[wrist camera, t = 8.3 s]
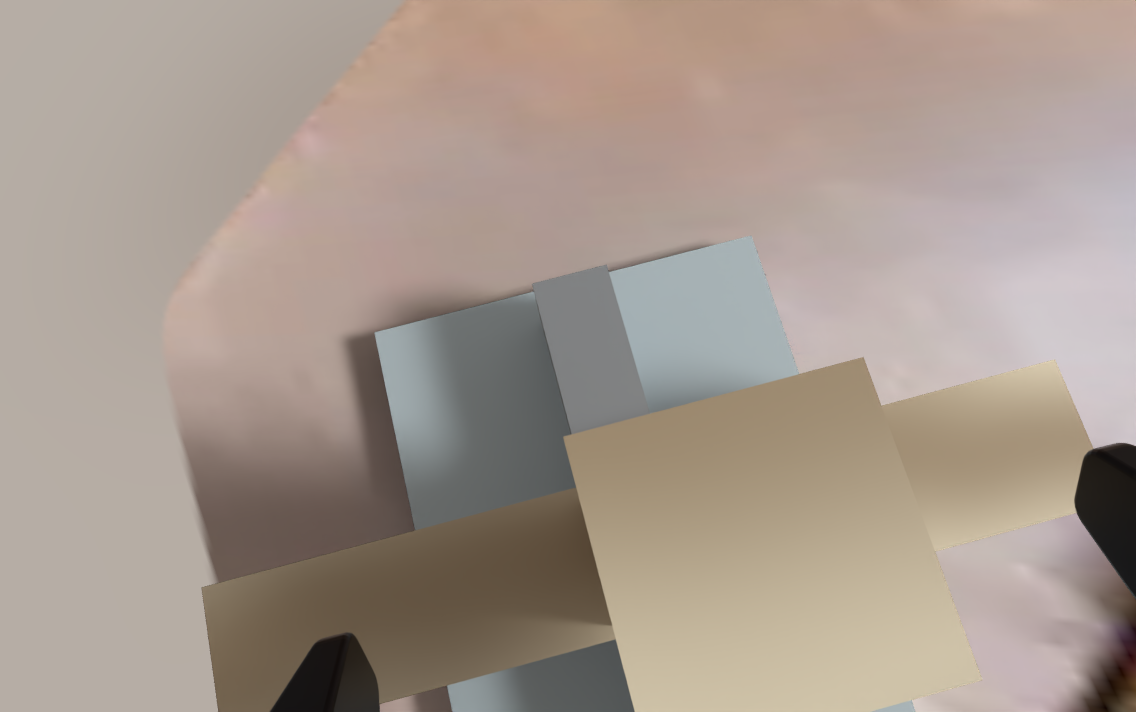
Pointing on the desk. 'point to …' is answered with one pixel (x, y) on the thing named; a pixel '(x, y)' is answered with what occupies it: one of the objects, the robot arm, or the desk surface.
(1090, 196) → the desk surface
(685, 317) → the stand
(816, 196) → the desk surface
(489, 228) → the desk surface
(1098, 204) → the desk surface
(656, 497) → the t bar
